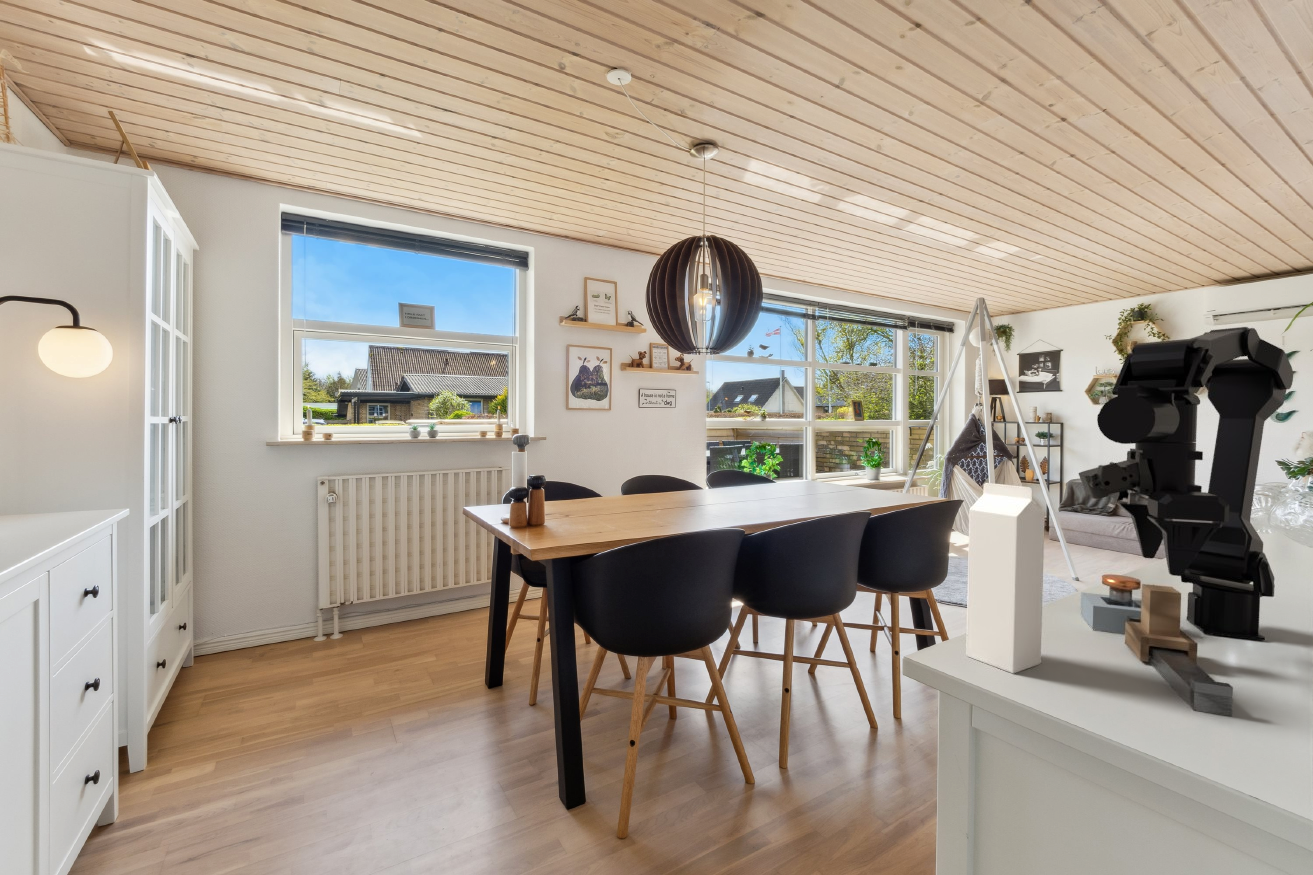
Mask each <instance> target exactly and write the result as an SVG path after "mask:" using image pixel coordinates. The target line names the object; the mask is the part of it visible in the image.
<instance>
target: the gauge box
mask: <svg viewBox="0 0 1313 875" xmlns="http://www.w3.org/2000/svg"><path fill="white" fill-rule="evenodd" d="M1141 601H1142V597H1140V598H1139V597H1132V607H1125V606H1116V605H1109V594H1101V593H1092V592H1091V593H1090V592H1082V591H1081V593H1080V614H1081V615H1082V616H1081V615H1080V616H1081V617H1082V618H1084V619H1085V620H1084V619H1083V620H1084V621H1085V623H1086V624H1087V623H1088V624H1089V625H1090V626H1089V625H1088V624H1087V625H1088V626H1089V627H1090V628H1092V629H1093V630H1092V629H1091V630H1092V631H1097V630H1101V631H1100V632H1105V631H1107V632H1106V633H1113V632H1116V633H1115V634H1121V633H1122V635H1125V621H1127V616H1132V617H1141ZM1094 629H1095V630H1094Z"/></svg>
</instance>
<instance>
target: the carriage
mask: <svg viewBox="0 0 1313 875" xmlns="http://www.w3.org/2000/svg"><path fill="white" fill-rule="evenodd" d="M1141 599H1142V601H1141V623H1138V622H1129V621H1125V634H1124V644H1125V646H1126V647H1127V648H1129V650H1130V651H1131V653H1132V654H1134V655H1135V657H1136V658H1137V659H1138V660H1139V661H1140V662H1146V663H1147V662H1148V663H1149V661H1148V656H1149V646H1155V647H1163V648H1171V649H1179V650H1181V651H1182V652H1183V653H1184V654H1185V655H1186V656H1188V657H1189V658H1190V659H1191V660H1192V661H1193V662H1194V663H1195V664H1196V665H1198V647H1199V646H1198V645H1199V644H1198V642H1196V641H1195V640H1194V639H1192V638H1191V637H1190V636H1189V635H1187V634H1186V633H1185V631H1183V630H1182V629H1181V616H1182V615H1181V613H1182V612H1181V611H1182V593H1181V592H1180V591H1179V590H1177V589H1176V588H1174V587H1173V586H1165V585H1155V584H1144V583H1141Z"/></svg>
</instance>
